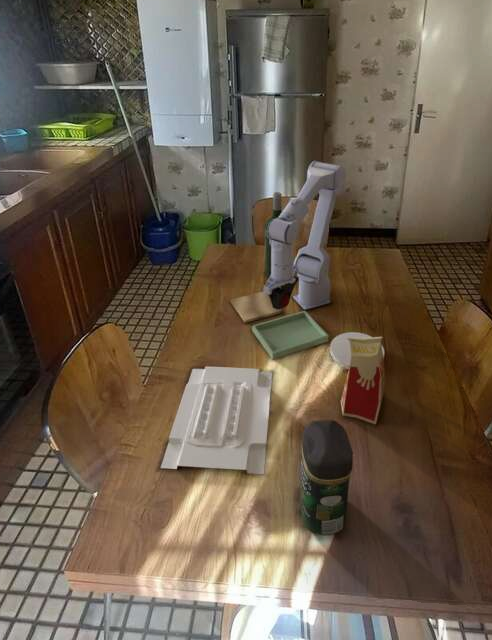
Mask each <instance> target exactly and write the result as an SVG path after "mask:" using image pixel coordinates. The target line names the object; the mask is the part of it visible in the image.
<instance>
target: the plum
mask: <svg viewBox="0 0 492 640" xmlns="http://www.w3.org/2000/svg"><path fill="white" fill-rule="evenodd" d="M290 300H291V298H290V299H289V296H288V295H287V294H286V293H284V295H283V297H282V303H281V308H280V309H285V308H286V307H288V306H289V304H290Z"/></svg>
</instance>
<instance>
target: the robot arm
mask: <svg viewBox="0 0 492 640" xmlns="http://www.w3.org/2000/svg"><path fill="white" fill-rule="evenodd" d="M346 172H347V171H346V168H345V166H344V165H337V164H333V163H328V162H321V161H318V160H313V161H311V163H310V164H309V166H308V168H307V173H306V181H305V183H304V184H303V186H302V188H301V190H300V192H299V193H298V195H297V197H294V198H291V199H290V200H289V202H288V203H287V205H286V206H285V207H284V209H283V210H282V211H281V212H282V213H281V214H280V216H279V217H278V218H276V219H273V220H271V222H270V223H269V225H268V230H267V237H268V238H269V244H270V245H271V275H270V277H268V280H267V281H266V283H265V285H264V286H263V291H264V293H266V294H268V295H269V297H270V300H271V303H272V306H273V308H275V309H277V310H279V309H282V308H281V303H282V297H283V295H284V293H286V294H287V295H288V296H289V299H290V300H291V298H292V299H294V300H295V301H296V302H297V304H298V305H299V306H300V307H301V308H302V309H303V311H306V310H311V309H314V308H317V307H321V306H324V305H327V304H330V303H331V300H330V293H331V281H330V278H329V276H328V274H329V272H330V263H331V256H330V255H329V253H328V252H327V251H326V249H325V244H326V240H327V236H328V232H329V228H330V224H331V220H332V216H333V211H334V208H335V204H336V200H337V196H340V195H342V194H343V190H344V186H345V183H346V178H347V173H346ZM317 195H319V197H318V201H317V205H316V207H315V212H314V217H313V221H312V225H311V229H310V233H309V237H308V242H307V245H305V246H303V247H301V248H299V249H298V251H297V255H296V256H295V259H294V242H295V241H296V240H297V238H298V235H299V231H300V230H301V229H300V228H301V224H302V222H303V220H304V219H305V218H306V216H307V215H308V213H309V211H310V209H309V208H310V207H309V204H311V203H312V201H313V200H314V198H316V196H317ZM293 260H294V261H293ZM295 274H296V276H295ZM297 283H298V294H295V295H293V296H292V294H293V291H294V288H295V286H296V284H297Z"/></svg>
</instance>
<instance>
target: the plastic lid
mask: <svg viewBox="0 0 492 640" xmlns="http://www.w3.org/2000/svg"><path fill="white" fill-rule="evenodd" d="M347 338H373V336H371V335H369V334H367V333H362V332H357V331H356V332H355V331H349V332H343V333H340V334H338V335H336V336H335V337H334V338H333V339H332V340H331V342H330V348H329V353H330V357H331V359H332V360H333V362H335V364H337V365H338V366H340V367H341V368H343V369H345V370H347V371H348V370H349V366H350V362H351V348H350V340H348V339H347ZM382 352H383V358H384V359H385V348H384V346H382Z"/></svg>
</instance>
